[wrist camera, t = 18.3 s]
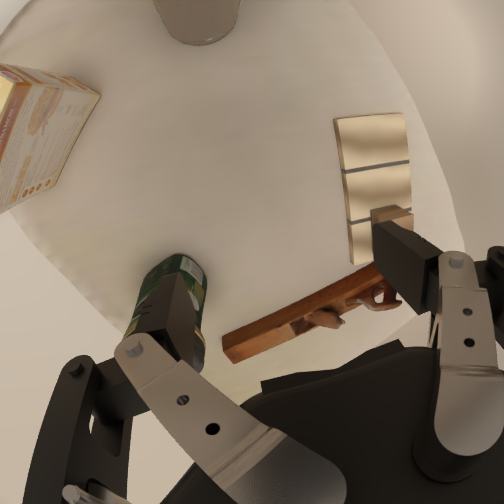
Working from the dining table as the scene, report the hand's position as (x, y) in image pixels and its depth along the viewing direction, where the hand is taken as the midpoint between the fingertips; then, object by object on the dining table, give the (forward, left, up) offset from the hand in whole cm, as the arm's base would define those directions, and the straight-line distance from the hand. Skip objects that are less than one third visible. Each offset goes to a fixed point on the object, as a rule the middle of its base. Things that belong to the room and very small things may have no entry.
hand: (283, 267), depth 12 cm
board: (+7, +19, -28) cm, 35 cm away
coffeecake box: (-13, -23, -28) cm, 39 cm away
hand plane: (+24, +8, -29) cm, 38 cm away
